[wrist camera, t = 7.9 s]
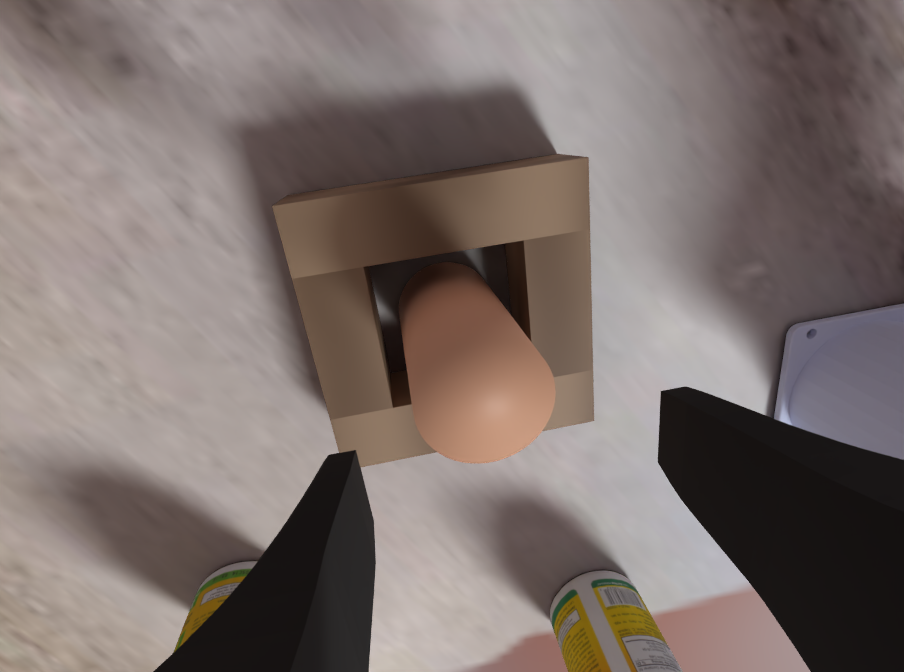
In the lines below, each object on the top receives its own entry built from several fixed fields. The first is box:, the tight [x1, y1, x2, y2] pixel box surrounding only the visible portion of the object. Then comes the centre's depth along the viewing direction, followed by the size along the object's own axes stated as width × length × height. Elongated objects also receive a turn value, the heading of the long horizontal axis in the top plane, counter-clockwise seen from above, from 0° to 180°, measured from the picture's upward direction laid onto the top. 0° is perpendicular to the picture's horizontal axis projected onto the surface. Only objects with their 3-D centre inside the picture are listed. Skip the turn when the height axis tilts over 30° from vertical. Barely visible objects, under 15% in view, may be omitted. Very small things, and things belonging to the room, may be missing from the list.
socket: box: [272, 154, 594, 467], centre depth 19 cm, size 10×10×3 cm
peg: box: [399, 262, 556, 463], centre depth 17 cm, size 4×4×8 cm
